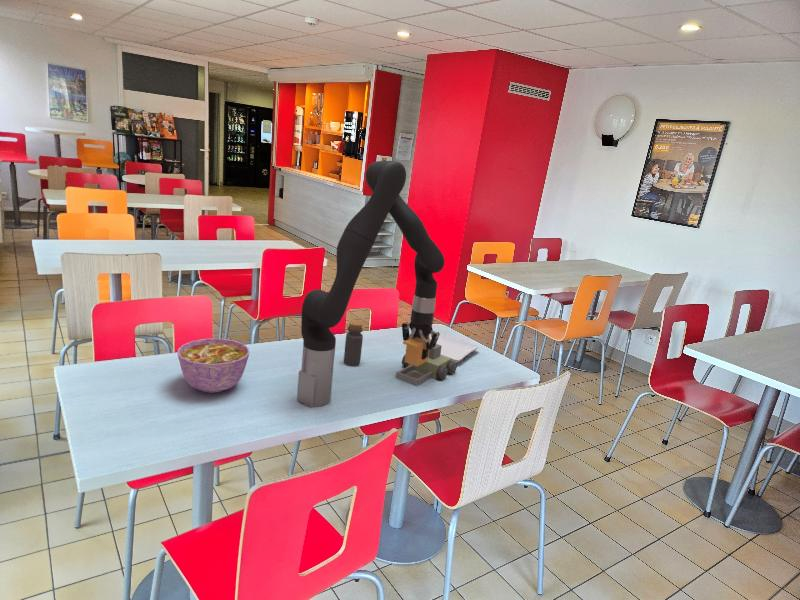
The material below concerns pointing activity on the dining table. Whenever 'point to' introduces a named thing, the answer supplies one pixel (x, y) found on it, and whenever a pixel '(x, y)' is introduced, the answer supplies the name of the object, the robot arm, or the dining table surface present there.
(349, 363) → the bottle
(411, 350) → the orange box
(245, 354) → the bowl of food
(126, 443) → the dining table surface
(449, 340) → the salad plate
